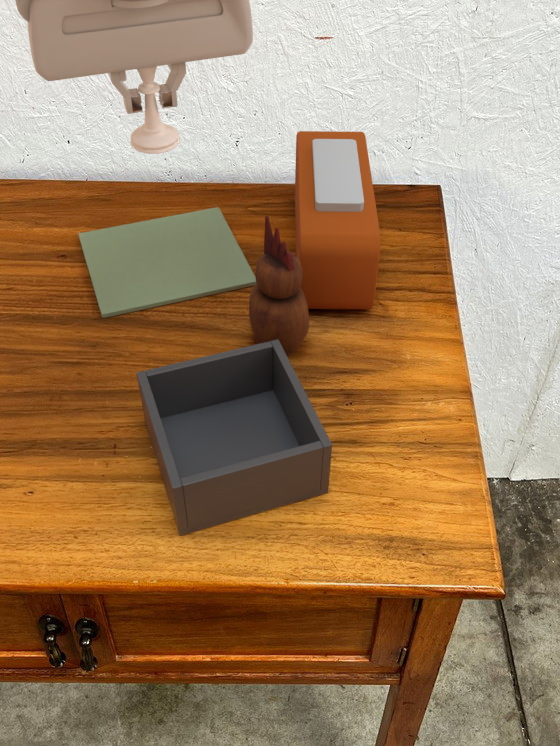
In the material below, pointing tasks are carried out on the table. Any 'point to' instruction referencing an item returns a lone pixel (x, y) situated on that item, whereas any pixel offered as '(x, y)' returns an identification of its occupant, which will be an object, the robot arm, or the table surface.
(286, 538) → the table surface
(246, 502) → the tub
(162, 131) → the chess piece
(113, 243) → the mat
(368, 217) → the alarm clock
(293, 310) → the wooden figurine
